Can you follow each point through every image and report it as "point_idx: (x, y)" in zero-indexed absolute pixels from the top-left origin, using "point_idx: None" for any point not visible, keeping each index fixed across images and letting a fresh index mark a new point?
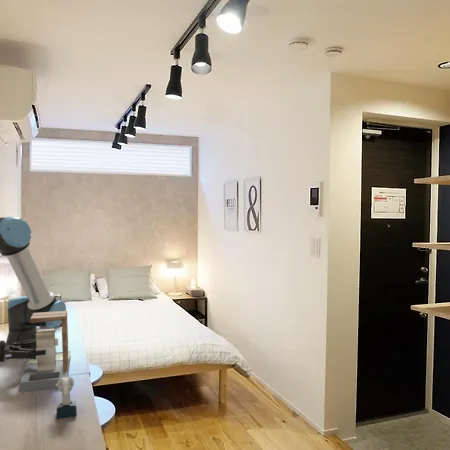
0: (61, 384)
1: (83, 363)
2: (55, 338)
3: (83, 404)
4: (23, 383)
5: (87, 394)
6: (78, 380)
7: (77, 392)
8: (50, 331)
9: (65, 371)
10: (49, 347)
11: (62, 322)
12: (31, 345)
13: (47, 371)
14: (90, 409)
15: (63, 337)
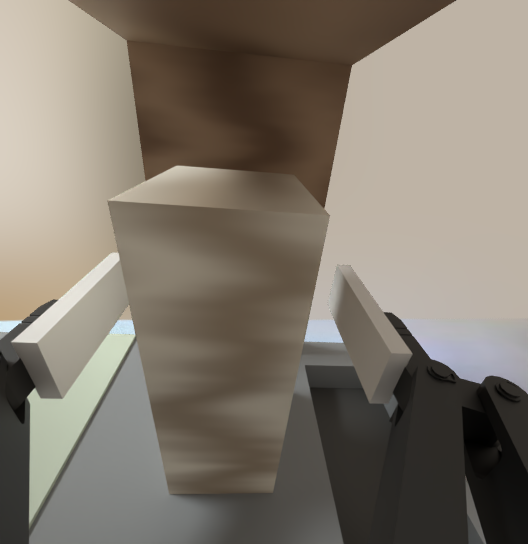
0: None
1: (129, 321)
2: (111, 260)
3: (500, 331)
4: None
5: (429, 322)
6: (314, 337)
7: (421, 341)
8: (273, 177)
9: (305, 347)
10: (357, 284)
11: (346, 86)
12: (12, 476)
13: (288, 421)
14: (520, 321)
15: (323, 200)
